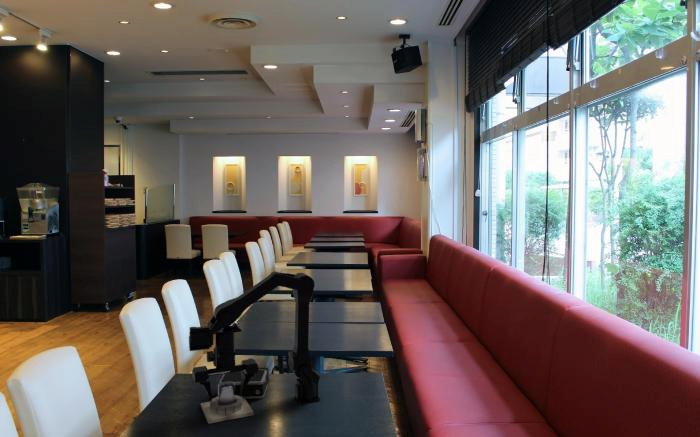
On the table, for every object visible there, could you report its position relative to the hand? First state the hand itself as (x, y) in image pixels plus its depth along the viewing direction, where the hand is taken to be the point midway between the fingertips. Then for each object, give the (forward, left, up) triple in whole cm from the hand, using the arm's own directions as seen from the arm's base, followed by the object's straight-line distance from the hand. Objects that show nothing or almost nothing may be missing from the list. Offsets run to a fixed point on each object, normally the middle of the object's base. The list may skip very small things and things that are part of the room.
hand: (226, 398), depth 160 cm
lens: (0, 0, -3) cm, 3 cm away
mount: (0, 0, -4) cm, 4 cm away
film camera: (-9, -14, -4) cm, 17 cm away
